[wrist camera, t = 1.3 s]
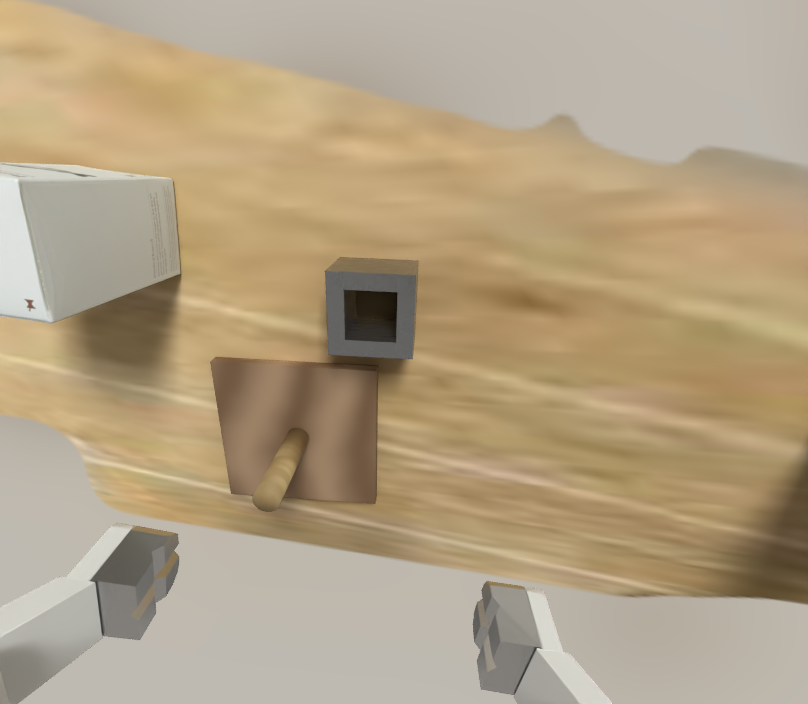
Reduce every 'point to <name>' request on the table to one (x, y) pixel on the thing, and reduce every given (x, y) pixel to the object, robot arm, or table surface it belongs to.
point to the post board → (305, 406)
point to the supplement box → (81, 238)
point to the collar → (367, 332)
